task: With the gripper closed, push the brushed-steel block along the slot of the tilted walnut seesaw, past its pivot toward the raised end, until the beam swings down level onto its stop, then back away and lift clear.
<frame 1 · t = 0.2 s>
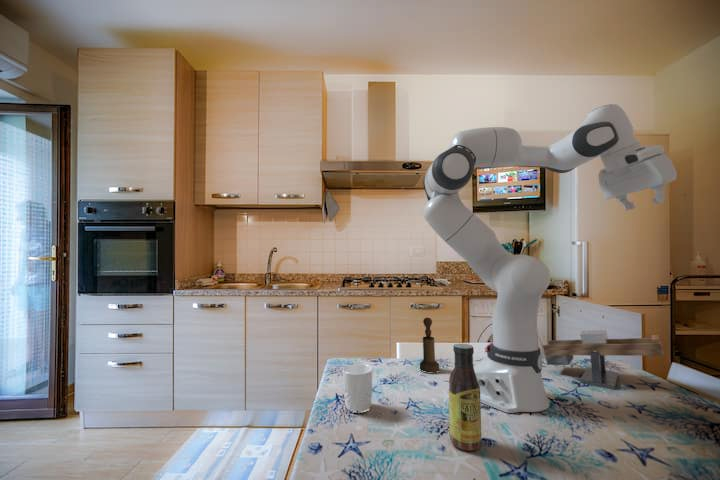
hand: (644, 206, 85), 51 cm above the table, tool tilted 20°, fingers open, 8 cm apart
steel rider: (597, 347, 96), point 10 cm above the table, tilted 10°, touching balance beam
sauce bottle: (466, 444, 64), on the table
white cup: (358, 408, 81), on the table
beam stand: (599, 379, 96), on the table
balance beam: (599, 350, 96), point 9 cm above the table, hinge at -10.2°, touching steel rider
mortar and pestle: (429, 371, 107), on the table
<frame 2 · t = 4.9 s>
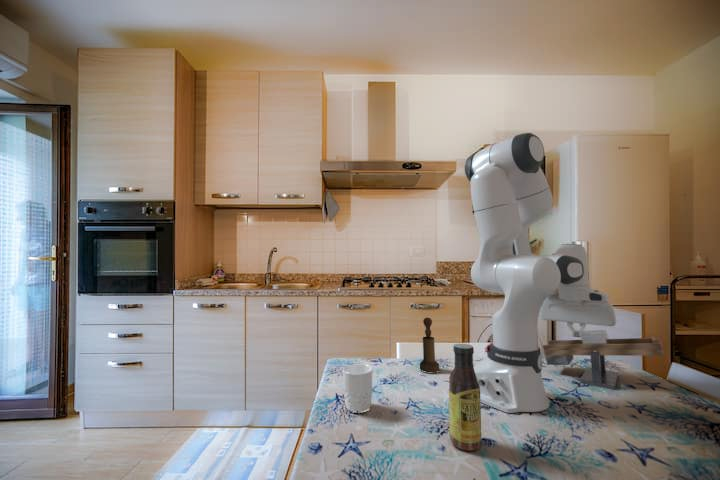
hand: (577, 336, 100), 12 cm above the table, tool pointing down, fingers closed
steel rider: (597, 346, 96), point 10 cm above the table, tilted 10°, touching balance beam, gripper
everything else where it was.
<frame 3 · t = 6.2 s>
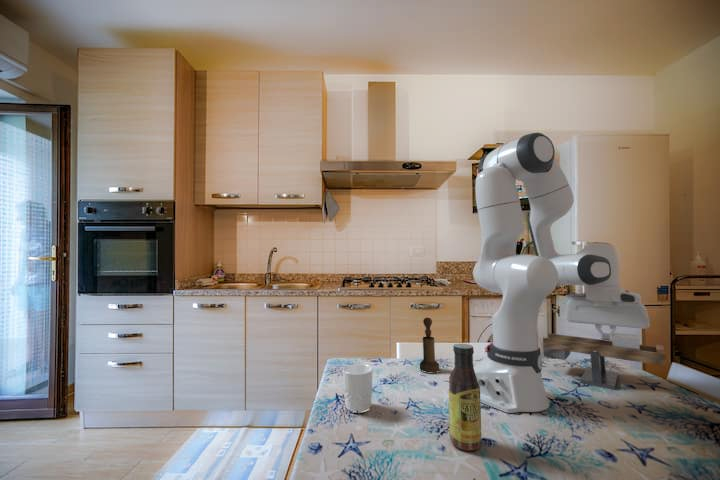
hand: (606, 339, 95), 12 cm above the table, tool pointing down, fingers closed
steel rider: (626, 351, 92), point 10 cm above the table, touching gripper
balance beam: (599, 350, 96), point 9 cm above the table, hinge at 0.2°
everything else where it was.
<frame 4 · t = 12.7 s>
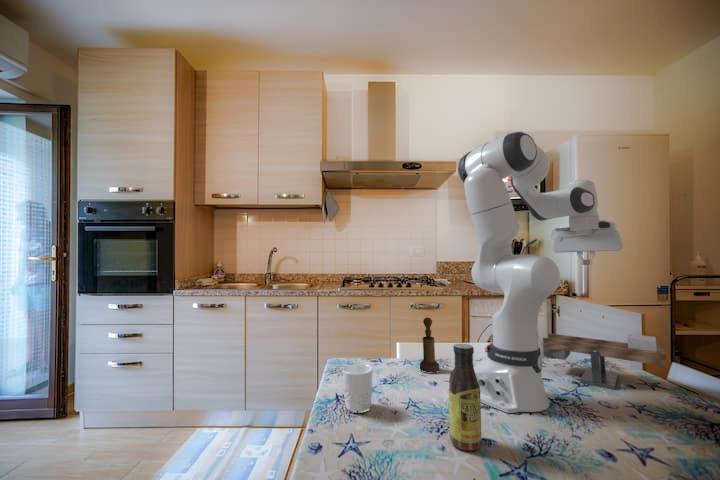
hand: (587, 264, 109), 35 cm above the table, tool pointing down, fingers closed
steel rider: (642, 353, 89), point 10 cm above the table, touching balance beam
balance beam: (599, 350, 96), point 9 cm above the table, hinge at 0.2°, touching steel rider
everything else where it was.
at the end: balance beam at +0° (first picture: -10°); steel rider inside the target area on the balance beam (2.8 cm from its centre), point 0.7 cm above the balance beam's base; steel rider tilted 0° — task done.
